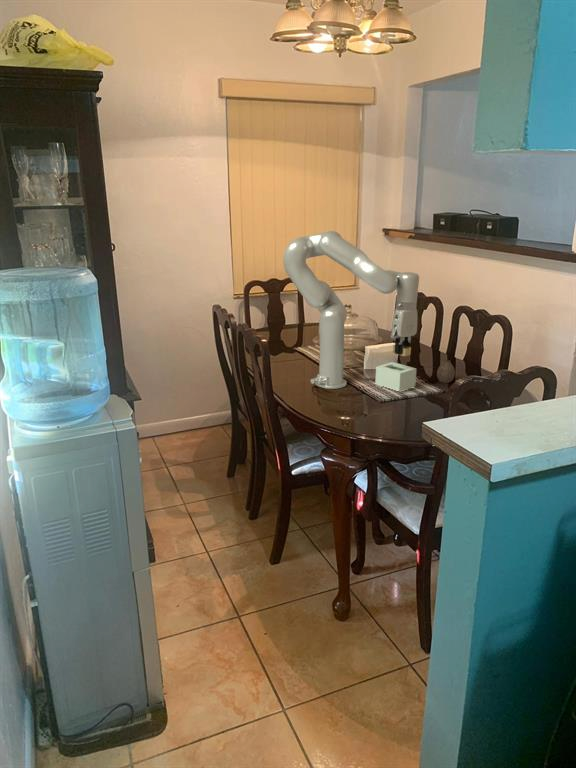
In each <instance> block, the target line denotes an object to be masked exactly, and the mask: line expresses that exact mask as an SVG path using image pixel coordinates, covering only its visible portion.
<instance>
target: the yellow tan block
mask: <svg viewBox="0 0 576 768" xmlns="http://www.w3.org/2000/svg"><path fill="white" fill-rule="evenodd" d="M394 351H395V344H393V345H392V353H393V354H395V353H394ZM411 351H412V347H411V346H409V347H407V346H404V345H403V346H402V354H401V355H399V354H397V355H399V356H402V357H409V356H411V355H412V354H411V353H412V352H411Z"/></svg>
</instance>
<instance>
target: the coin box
mask: <svg viewBox="0 0 576 768" xmlns="http://www.w3.org/2000/svg"><path fill="white" fill-rule="evenodd" d="M416 379H417V368H415V367H413V366H408V365H405V364H403V363H402V364H401V363H398V362H393V361H391V362H387V363H384V364H381V365H378V366H376V367H375V380H374V383H375V384H377V385H380V386H384V387H387V388H390V389H393V390H396V391H401V390H405V389H408V388H411V387H414V386H415V387H416Z"/></svg>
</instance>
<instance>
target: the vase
mask: <svg viewBox="0 0 576 768" xmlns="http://www.w3.org/2000/svg"><path fill="white" fill-rule="evenodd" d="M455 373H456V370H455V367H454V366H453V364H452V363H451V360H450V359H449V360H448V359H447V360H446V359H445V360H443V362H442V363H441V364H440V365H439V366H438V367H437V372H436V376H437V379H438V380H439V382H441V383H444V384H449V383H451V382H452V381H453V380H454V378H455V375H456V374H455Z"/></svg>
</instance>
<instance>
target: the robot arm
mask: <svg viewBox="0 0 576 768" xmlns="http://www.w3.org/2000/svg"><path fill="white" fill-rule="evenodd" d="M321 256H326V257H327V258H329V259H331V260H332V261H334V262H335V263H337V264H339V265H341V266H342V267H343V268H345V269H347V270H348V271H349V272H350V273H351V274H353V275H354V276H356V277H357V278H359V279H360V280H361V281H363V282H364V283H366V284H367V285H368V286H370V287H371V288H373V289H375V290H376V291H377V292H379V293H382V294H383V295H387V294H392V293H393V292H395V291H397V293H396V300H395V310H394V312H393V313H394V314H393V319H392V325H391V335H390V337H389V338H390V339H391V340H393V342H394V343H393V344H394V345H395V351H394V353H393V354H395V355H398V354H399V356H402V355H401V354H402V346H403V345H404V346H407V347H410V344H411V342H412V339H413V337H414V336H415V335H416V334H417V333H418V332H417V331H418V309H417V303H418V292H419V285H420V284H419V282H420V276H419V274H418V273H416V272H409V271H408V272H407V271H405V272H400V271H394V270H389V269H388V270H385V269H383V268H382V267H381V266H379V265H377V264H376V263H374V262H373V261H372V260H371V259H370V258H369V257H368V255H367V254H366V253H365V252H364V251H363V250H362V249H360V248H359V247H357V246H356V245H353V244H352V243H350V242H349V241H347V240H346V239H345V238H343V237H342V235H341V234H340V233H338V232H337V231H335V230H329V231H325V232H320V233H316V234H311V235H310V234H309V235H305V236H301V237H297V238H295V239H292V240H291V241H290V242H289V243H288V245H287V246H286V248H285V250H284V254H283V258H282V259H283V260H282V263H283V268H284V271H285V272H286V274H287V276H288V277H289V279H290V280H291V281H292V283H293V284H294V286H295V288H296V289H297V291H298V292H299V294H300V295H301V296H302V297H303V299H304V301H305V302H306V304H308V306H309V307H311V308H312V309H313V308H314V309H317V310H318V312H319V313H320V314H319V315H320V316H319V320H318V321H319V325H318V327H319V328H318V329H319V366H318V367H319V368H318V369H319V372H318V374H317V375H316V377H315V378H311V379H310V384H315V386H317V387H319V388H322V389H328V390H329V389H331V390H334V389H341V388H344V387H346V386H347V383H348V382H347V380H346V379H344V359H345V358H344V357H345V356H344V353H345V322H346V320H347V318H348V317H347V316H348V311H347V308H346V307H345V305H344V304H343V302H342V301H341V300H340V298H339V297H338V295H337V293H336V292H335V291H334V289H333V288H332V287H331V286H330V284H329V283H327V282H326V281H324V280H319V279H318V277H317V276H316V275H315V273H314V272H313V270H312V269H311V268H310V267H309V266H308V264H307V259H310V258H316V257H321Z"/></svg>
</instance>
